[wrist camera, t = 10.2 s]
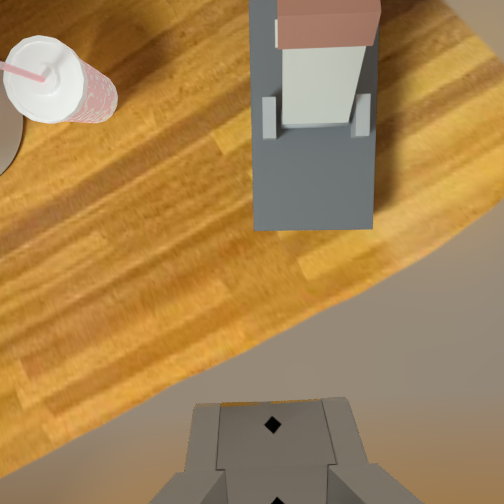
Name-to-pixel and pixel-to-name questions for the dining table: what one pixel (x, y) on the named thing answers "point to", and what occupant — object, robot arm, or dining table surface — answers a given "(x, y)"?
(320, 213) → the switch panel
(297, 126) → the lever
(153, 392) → the dining table surface
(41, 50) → the beverage cup
